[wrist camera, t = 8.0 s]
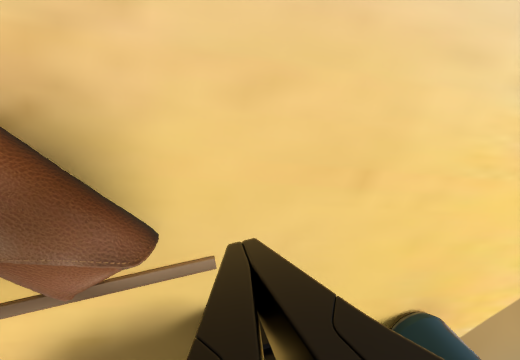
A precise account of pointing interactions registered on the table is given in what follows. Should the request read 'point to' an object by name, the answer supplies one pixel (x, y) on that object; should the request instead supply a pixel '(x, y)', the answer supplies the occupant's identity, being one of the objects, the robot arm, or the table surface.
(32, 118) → the table surface
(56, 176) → the sunglasses case
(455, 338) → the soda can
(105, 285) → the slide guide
